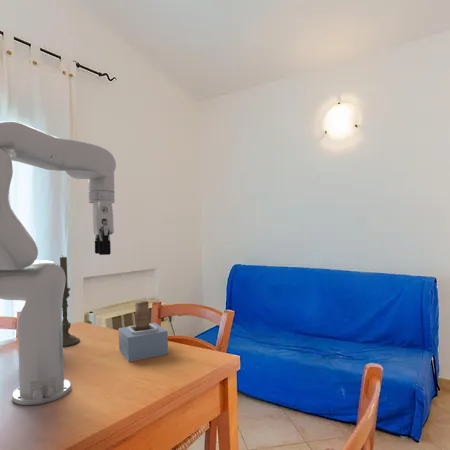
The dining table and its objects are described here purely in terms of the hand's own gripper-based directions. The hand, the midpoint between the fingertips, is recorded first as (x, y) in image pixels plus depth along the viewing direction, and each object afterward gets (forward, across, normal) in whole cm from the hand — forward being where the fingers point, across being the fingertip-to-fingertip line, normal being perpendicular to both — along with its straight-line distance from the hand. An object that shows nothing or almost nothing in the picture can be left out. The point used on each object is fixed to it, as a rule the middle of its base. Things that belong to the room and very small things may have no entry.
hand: (102, 254), depth 116 cm
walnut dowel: (+29, -2, -11) cm, 32 cm away
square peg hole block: (+31, -2, -11) cm, 33 cm away
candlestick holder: (+31, +21, +10) cm, 39 cm away
